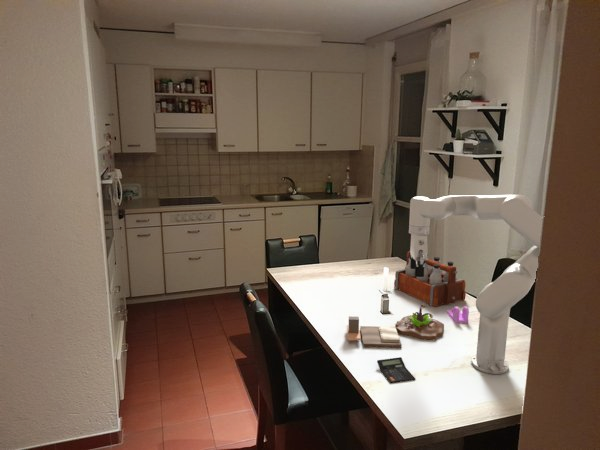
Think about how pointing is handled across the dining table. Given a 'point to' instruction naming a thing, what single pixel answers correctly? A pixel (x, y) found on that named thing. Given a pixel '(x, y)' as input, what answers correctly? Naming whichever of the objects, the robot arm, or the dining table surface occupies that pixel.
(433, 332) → the plant
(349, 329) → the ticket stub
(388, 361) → the calculator
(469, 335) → the dining table surface
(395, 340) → the board
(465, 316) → the bracket
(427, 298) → the milk bottle holder
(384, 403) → the dining table surface
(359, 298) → the dining table surface
